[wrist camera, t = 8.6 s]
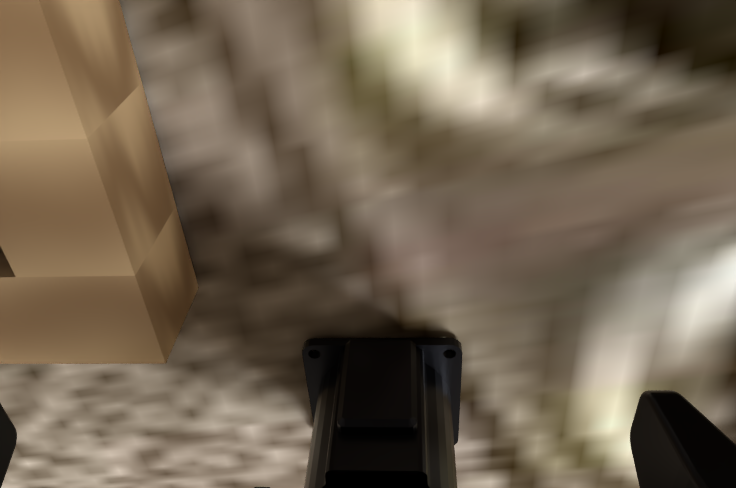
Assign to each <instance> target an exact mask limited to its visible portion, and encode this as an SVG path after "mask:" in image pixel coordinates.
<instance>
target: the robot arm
mask: <svg viewBox="0 0 736 488" xmlns="http://www.w3.org/2000/svg"><path fill="white" fill-rule="evenodd" d="M449 349H451V350H453V351H446V350H449ZM312 350H317V352H315V351H312ZM302 355H303V361H304V367H305V373H306V380H307V386H308V392H309V398H310V404H311V410H312V416H313V422H314V425H313V432H312V439H311V445H310V452H309V459H308V465H307V472H306V479H305V485H304V488H457V478H456V464H455V451H454V445H455V444H456V443H457V442H458V431H459V411H460V390H461V369H462V347H461V343H460V342H459V341H458V340H456V339H454V338H314V339H309V340H307V341H306V342H305V343H304V347H303V353H302ZM16 440H17V433H16V429H15V427H14V425H13V423H12V422H11V420H10V418H9V417H8V415H7V413H6V412H5V410H4V409H3V407H2V405H1V404H0V488H1V486H2V483H3V480H4V477H5V474H6V472H7V469H8V466H9V463H10V460H11V457H12V455H13V452H14V449H15V446H16ZM630 442H631V449H632V454H633V458H634V463H635V468H636V472H637V477H638V481H639V486H640V488H736V444H734V443H733V442H732V441H731V440H730V439H729V438H728V437H727V436H726V435H725V434H723V433H722V432H721V431H720V430H719V429H718V428H717V427H716V426H715V425H714V424H713V423H711V422H710V421H709V420H708V419H707V418H706V417H705V416H704V415H703V414H702V413H700V412H699V411H698V410H697V409H696V408H695V407H694V406H693V405H692V404H691V403H690V402H688V401H687V400H686V399H685V398H684V397H683V396H682V395H680V394H679V393H677V392H675V391H645V392H644V393H643V394H642V395H641V397H640V399H639V403H638V406H637V409H636V413H635V416H634V420H633V423H632V427H631V432H630ZM254 488H270V487H254Z"/></svg>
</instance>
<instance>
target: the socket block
mask: <svg viewBox="0 0 736 488" xmlns="http://www.w3.org/2000/svg"><path fill="white" fill-rule="evenodd" d="M198 288H199V287H198V283H197V280H196V276H195V273H194V269H193V265H192V262H191V258H190V255H189V251H188V247H187V244H186V240H185V236H184V233H183V229H182V226H181V222H180V218H179V215H178V211H177V208H176V204H175V200H174V197H173V193H172V190H171V186H170V182H169V179H168V175H167V172H166V168H165V164H164V161H163V157H162V154H161V150H160V146H159V143H158V139H157V135H156V132H155V128H154V125H153V121H152V117H151V114H150V110H149V107H148V103H147V99H146V96H145V92H144V89H143V85H142V81H141V78H140V74H139V71H138V67H137V63H136V60H135V56H134V53H133V49H132V45H131V42H130V38H129V34H128V31H127V27H126V24H125V20H124V16H123V13H122V9H121V6H120V2H119V0H0V364H107V363H166V362H167V359H168V357H169V355H170V352H171V350H172V348H173V346H174V343H175V341H176V339H177V336H178V334H179V332H180V329H181V327H182V325H183V322H184V320H185V318H186V316H187V313H188V311H189V309H190V306H191V304H192V302H193V299H194V297H195V295H196V293H197V290H198Z"/></svg>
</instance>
